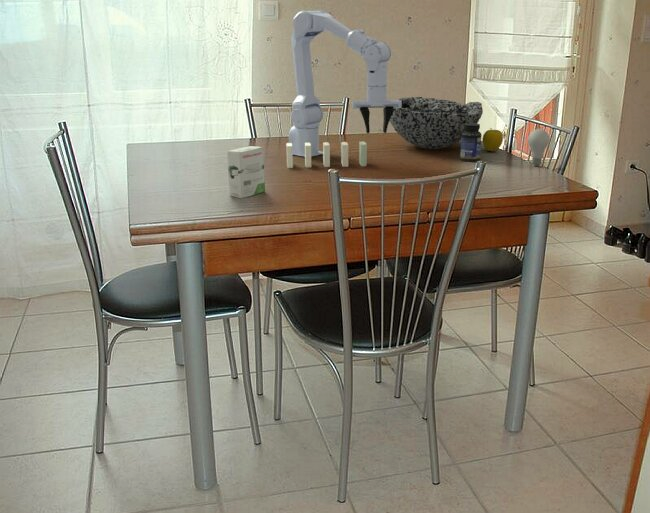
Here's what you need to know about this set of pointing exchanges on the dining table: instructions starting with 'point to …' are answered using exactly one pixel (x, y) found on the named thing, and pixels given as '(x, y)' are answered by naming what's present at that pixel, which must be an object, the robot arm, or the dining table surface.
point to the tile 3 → (326, 154)
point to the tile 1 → (289, 155)
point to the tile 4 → (344, 154)
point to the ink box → (246, 171)
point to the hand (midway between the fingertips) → (376, 132)
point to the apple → (492, 140)
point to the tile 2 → (307, 155)
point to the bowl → (433, 121)
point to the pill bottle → (470, 142)
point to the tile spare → (363, 153)
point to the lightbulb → (538, 145)
